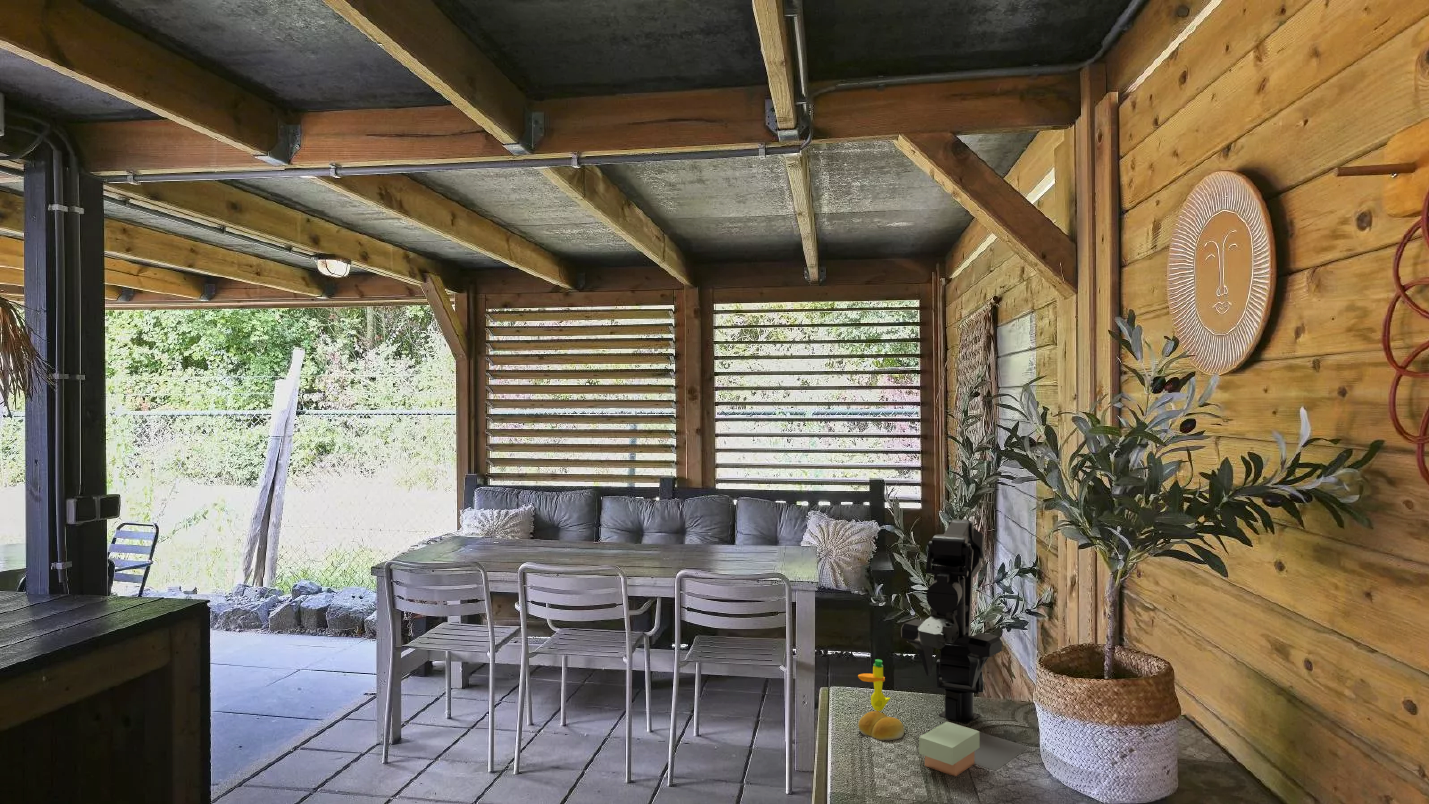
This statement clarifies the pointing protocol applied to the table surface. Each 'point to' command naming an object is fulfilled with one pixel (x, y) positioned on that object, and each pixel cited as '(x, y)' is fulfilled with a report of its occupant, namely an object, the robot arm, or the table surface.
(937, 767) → the dish
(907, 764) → the table surface
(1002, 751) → the mat
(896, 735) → the bread roll
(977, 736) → the lid
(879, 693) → the toy figure
